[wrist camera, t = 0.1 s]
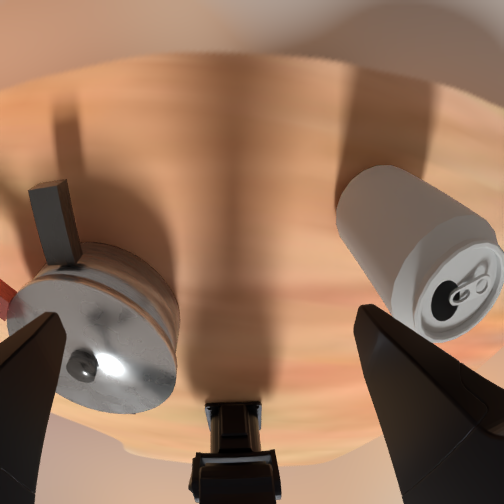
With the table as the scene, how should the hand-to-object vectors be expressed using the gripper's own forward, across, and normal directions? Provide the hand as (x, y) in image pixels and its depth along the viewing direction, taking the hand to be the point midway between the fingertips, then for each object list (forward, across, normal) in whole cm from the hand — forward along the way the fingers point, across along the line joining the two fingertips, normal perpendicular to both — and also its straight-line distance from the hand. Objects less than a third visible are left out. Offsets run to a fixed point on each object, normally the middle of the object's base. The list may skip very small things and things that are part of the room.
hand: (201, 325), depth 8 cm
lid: (+10, +13, +9) cm, 19 cm away
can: (+15, -12, +2) cm, 19 cm away
